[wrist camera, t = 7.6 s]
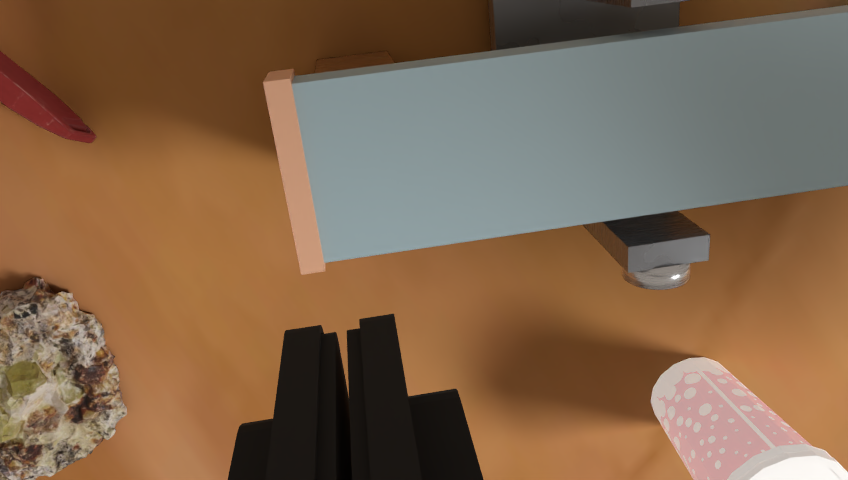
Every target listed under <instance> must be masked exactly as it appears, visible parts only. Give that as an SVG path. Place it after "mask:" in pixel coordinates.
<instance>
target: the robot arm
mask: <svg viewBox="0 0 848 480" xmlns="http://www.w3.org/2000/svg"><path fill="white" fill-rule="evenodd" d="M359 321H360V328H359V329H353V330H347V351H348V380H349V397H348V391H347V386H346V380H345V375H344V369H343V364H342V358H341V353H340V347H339V342H338V337H337V333H336V332H334V333H327V334H324V332H323V329H322V326H321V325H318V326H312V327H305V328H299V329H292V330H286V331H285V334H284V341H283V348H282V356H281V364H280V371H279V379H278V386H277V394H276V401H275V409H274V417H273V419H268V420H262V421H256V422H250V423H243V424H241V425H240V426H239V429H238V433H237V437H236V442H235V447H234V452H233V457H232V461H231V466H230V471H229V476H228V480H483V476H482V473H481V470H480V466H479V463H478V459H477V456H476V452H475V449H474V445H473V442H472V438H471V435H470V431H469V428H468V424H467V421H466V417H465V414H464V410H463V407H462V403H461V400H460V397H459V394H458V391H457V389H451V390H445V391H439V392H433V393H427V394H421V395H415V396H408V394H407V388H406V382H405V376H404V370H403V364H402V359H401V353H400V347H399V341H398V335H397V329H396V323H395V317H394V314H389V315H383V316H376V317H370V318H363V319H359Z"/></svg>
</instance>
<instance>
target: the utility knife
mask: <svg viewBox="0 0 848 480" xmlns="http://www.w3.org/2000/svg"><path fill="white" fill-rule="evenodd" d="M0 102H2V103H3V104H4V105H6V106H7V107H8V108H10V109H11V110H13V111H15V112H16V113H18V114H19V115H21V116H23V117H24V118H26V119H28V120H29V121H31V122H33V123H34V124H36V125H37V126H39V127H41V128H44V129H46V130H48V131H50V132H52V133H54V134H57V135H59V136H61V137H63V138H65V139H70V140H75V141H81V142H86V143H92V142H93V141H94V139H95V138H96V135H95V134H94V133H93V132H92V131H91V129H90V128H89V127H88V126H86V125H85V124H84V123H83V122H82V120H81V119H80V118H79V117H78V116H77V115H76V114H75V113H74V112H73V111H72V110H71V109H70V108H69V107H68V106H67V105H66V104H64V103H63V102H62V101H61V100H60V99H59V98H58V97H57V96H56V95H55V94H53V93H52V92H51V91H50V90H48V89H47V88H46V87H45V86H43V85H42V84H41V83H40V82H38V81H37V80H36V79H35V78H33V77H32V76H31V75H30V74H28V73H27V72H26V71H25V70H23V69H22V68H21V67H20V66H18V65H17V64H16V63H15V62H13V61H12V60H11V59H10V58H8V57H7V56H6V55H5V54H3V53H2V52H1V51H0Z"/></svg>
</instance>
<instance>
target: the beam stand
mask: <svg viewBox="0 0 848 480" xmlns="http://www.w3.org/2000/svg"><path fill="white" fill-rule="evenodd" d="M680 1H688V0H488V9H489V24H490V39H491V51H494V50H502V49H509V48H517V47H525V46H533V45H541V44H548V43H556V42H564V41H572V40H580V39H587V38H595V37H603V36H611V35H619V34H626V33H634V32H642V31H650V30H658V29H665V28H673V27H679V9H680ZM393 63H394V61H393V60H392V58H391V57H390V55H389V53H388V52H387V51H381V52H374V53H366V54H358V55H350V56H342V57H334V58H327V59H319V60H317V62H316V68H315V73H322V72H330V71H338V70H346V69H354V68H361V67H369V66H377V65H385V64H393ZM583 226H584V227H585V228H586V229H587V230H588V231H589V232H590V233H591V234H592V235H593V236H594V237H595V239H596V240H597V241H598V242H599V243H600V244H601V245H602V246H603V247H604V248H605V249H606V250H607V251H608V252H609V253H610V254H611V255H612V256H613V258H614V259H615V260H616V261H617V262H618V263H619V264H620V265H621V266H622V275H623V278H624V279H625V280H626V281H627V282H629V283H630V284H632V285H635V286H637V287H641V288H646V289H654V290H664V289H672V288H676V287H679V286H682V285H684V284H685V283H687V282H688V280H689V279H690V265H691V263H694V262H701V261H707V260H709V246H710V234H709V233H707V232H706V231H704V230H703V229H702V228H700V227H699V226H698V225H696V224H695V223H693V222H692V221H691V220H689V219H688V218H687V217H685V216H684V215H682V214H681V213H680V212H678V211H671V212H664V213H658V214H651V215H644V216H637V217H630V218H624V219H617V220H610V221H603V222H597V223H590V224H583Z"/></svg>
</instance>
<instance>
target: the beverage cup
mask: <svg viewBox="0 0 848 480" xmlns="http://www.w3.org/2000/svg"><path fill="white" fill-rule="evenodd" d="M651 404H652V407H653V410H654V413H655V415H656V417H657V419H658V420H659V422H660V424H661V425H662V427H663V429H664V430H665V432H666V434H667V435H668V437H669V439H670V441H671V442H672V444H673V446H674V447H675V449H676V451H677V452H678V454H679V456H680V457H681V459H682V461H683V463H684V464H685V466H686V468H687V469H688V471H689V473H690V474H691V476H692V478H693V479H694V480H848V472H847V471H846V470H845V469H844V468H843V467H842V466H841V465H840V464H839V463H838V462H837V461H836V460H835V459H834V458H833V457H831V456H830V455H829V454H828V453H827V452H826V451H825V450H822V449H819V448H816V447H813V446H811V445H810V444H809V443H808V442H807V441H806V440H805V439H804V438H803V437H801V436H800V435H799V434H798V433H797V432H796V431H795V430H794V429H792V428H791V427H790V426H789V425H788V424H787V423H786V422H785V421H783V420H782V419H781V418H780V417H779V416H778V415H777V414H776V413H775V412H773V411H772V410H771V409H770V408H769V407H768V406H767V405H766V404H764V403H763V402H762V401H761V400H760V399H759V398H758V397H757V396H755V395H754V394H753V393H752V392H751V391H750V390H749V389H748V388H747V387H745V386H744V385H743V384H742V383H741V382H740V381H739V380H738V379H736V378H735V377H734V376H733V375H732V374H731V373H730V372H729V371H727V370H726V369H725V368H724V367H723V366H722V365H721V364H720V363H719V362H717V361H714V360H711V359H708V358H705V357H700V358H688V359H686V360H683V361H681V362H678V363H676V364H674V365H672V366H671V367H670V368H669V369H668V370H666V371H665V372H664V373H663V374H662V375H661V376H660V377H659V379H658V381H657V382H656V384H655V385H654V387H653V391H652V397H651Z"/></svg>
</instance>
